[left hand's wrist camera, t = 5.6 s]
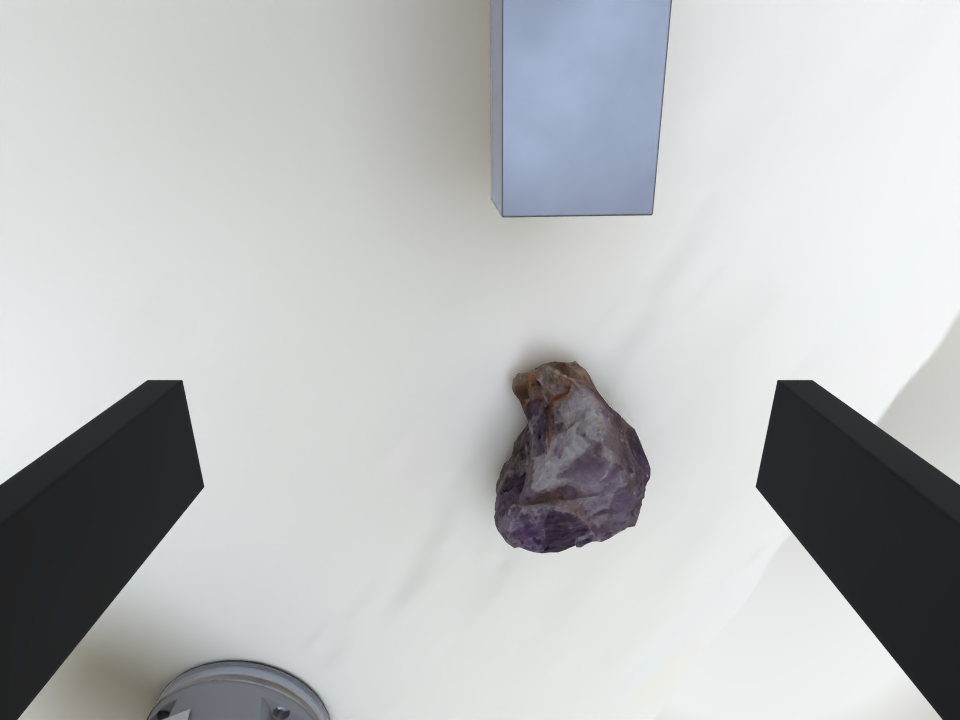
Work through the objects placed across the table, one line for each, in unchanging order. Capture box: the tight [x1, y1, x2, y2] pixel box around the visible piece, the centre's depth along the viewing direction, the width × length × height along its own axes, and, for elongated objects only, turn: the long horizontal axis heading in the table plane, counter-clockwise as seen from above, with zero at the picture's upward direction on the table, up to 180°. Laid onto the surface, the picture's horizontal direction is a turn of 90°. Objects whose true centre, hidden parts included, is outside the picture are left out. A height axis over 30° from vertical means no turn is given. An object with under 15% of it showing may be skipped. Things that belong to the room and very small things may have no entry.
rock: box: [494, 361, 650, 553], centre depth 37 cm, size 12×9×10 cm
